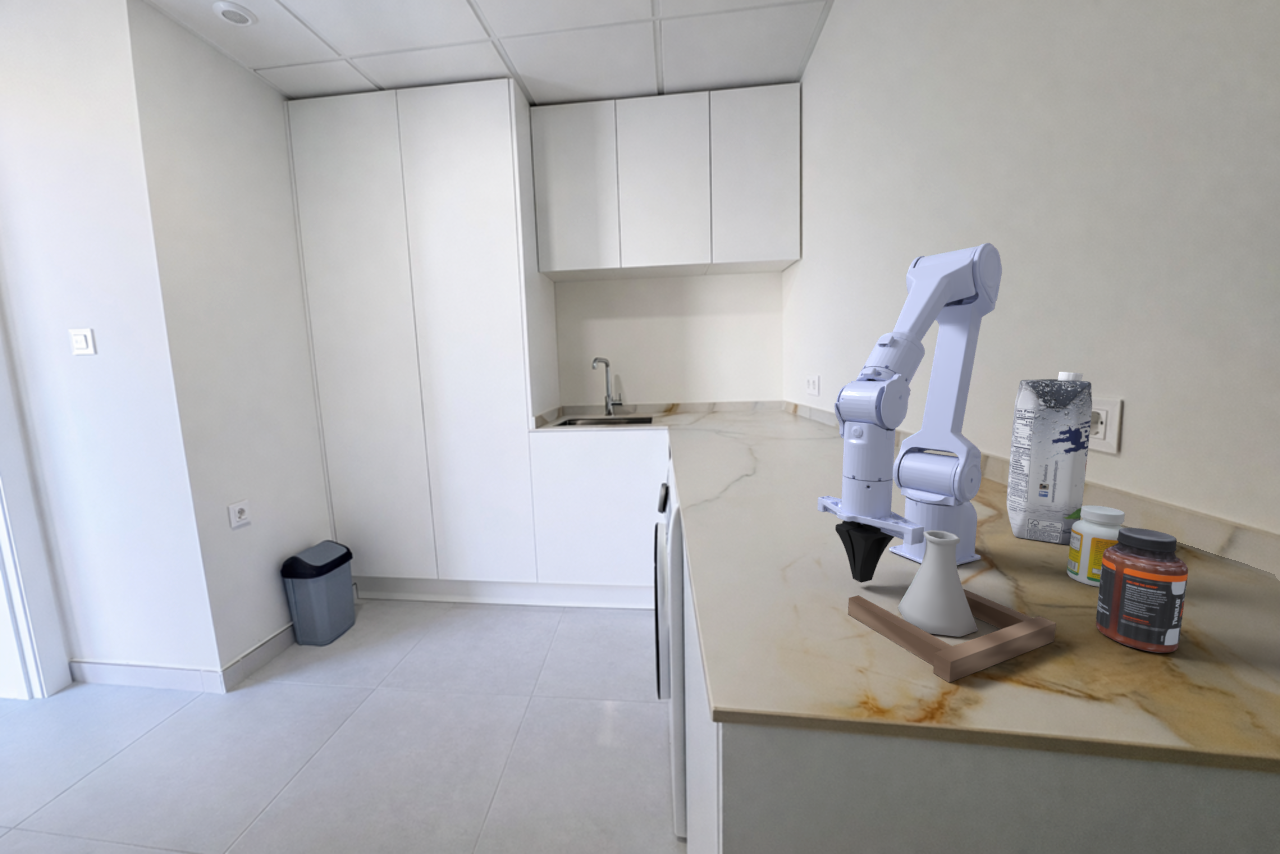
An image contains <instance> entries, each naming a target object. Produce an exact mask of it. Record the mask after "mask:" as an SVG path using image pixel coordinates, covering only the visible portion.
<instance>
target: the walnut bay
mask: <svg viewBox="0 0 1280 854" xmlns="http://www.w3.org/2000/svg"><path fill="white" fill-rule="evenodd" d="M963 590H964V593H965V596H966V599H967V602H968V605H969V607H970V610H971V613H972V615H973V618H974V617H975V618H976V619H978V620H980V621H983V622H985V623H987V624H990V625H991V626H993V627H995V628H997V629H998V630H995V631H993V632H990V633H986V634H984V635H981V636H979V637H975V638H973V639H970V640H967V641H965V642H961V643H959V644H956V645H951V644H950V643H947V642H946V641H944V640H941V639H940V638H938V637H936V636H934V634H933V635H932V634H931V633H928V632H926V631H924V630H922V629H920V628H918V627H917V626H915V625H913V624H911V623H909V622H907V621H906V620H904V618H902V617H900V616H897V615H896V614H894V613H892V612H890V611H888V610H887V609H885V608H882V606H880V605H878V604H875V603H874V602H872V601H870V600H868V599H867V598H864V597H862V596H860V595H855V596H851V597H848V602H847V603H848V606H847V607H848V609H847V615H849V616H851V617H852V618H854V619H855V620H857V621H859V622H860V623H862V624H863V625H865V626H866V627H869V629H872V630H874V631H875V632H877V633H879V634H880V635H882V636H883V637H885V638H887V639H889V640H890V641H892V642H893V643H895V644H897V645H899V647H901V648H903V649H905V650H906V651H908V652H909V653H911V654H913V655H915V656H916V657H918V658H920V659H922V660H923V661H925V662H927V663H928V664H929V665H932V666H933V670H932V671H933V672H932V673H933V674H934V675H936V676H938V677H940V678H941V679H942V680H944V681H946V682H948V683H952V682H954V681H957V680H960V679H962V678H964V677H966V676H970V675H972V674H975V673H976V672H977V673H978V672H981V671H982V670H985V669H988V668H991V667H992V666H994V665H995V666H996V665H997V664H1000V663H1002V662H1005V661H1007V660H1010V659H1013V658H1015V657H1018V656H1020V655H1022V654H1025V653H1028V652H1030V651H1033V650H1035V649H1038V648H1040V647H1041V648H1042V647H1043V646H1046V645H1048V644H1051V643H1054V642H1055V637H1056V630H1057V629H1056V627H1057V622H1055V621H1052V620H1050V619H1048V618H1046V617H1043V616H1040V615H1038V616H1035V617H1032V616H1030V615H1028V614H1025V613H1023V612H1020V611H1017V610H1015V609H1013V608H1010V607H1008V606H1005V605H1003V604H1001V603H999V602H996V601H994V600H991V599H989V598H986V597H984V596H982V595H979V594H977V593H975V592H972V591H970V590H967V589H965V588H963Z"/></svg>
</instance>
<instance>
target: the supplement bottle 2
mask: <svg viewBox="0 0 1280 854" xmlns="http://www.w3.org/2000/svg"><path fill="white" fill-rule="evenodd" d="M1117 541H1118V543H1117V544H1115V545H1114V546H1111V547H1109V548H1107V549H1106V550H1105V551H1104V553H1103V558H1102V567H1101V576H1100V585H1099V587H1098V595H1097V596H1098V598H1097V605H1096V614H1095V627H1096V628H1097V630H1098V631H1099V632H1100V633H1101V634H1102V635H1104V636H1106V637H1107V638H1109V639H1111V640H1113V641H1115V642H1116V643H1118V644H1121V645H1123V646H1126V647H1130V648H1133V649H1136V650H1140V651H1144V652H1151V653H1159V654H1166V653H1173V652H1175V651H1177V650H1178V648H1179V643H1180V641H1181V629H1182V623H1183V616H1184V615H1183V614H1184V606H1185V599H1186V591H1187V585H1188V577H1189V567H1188V566H1187V563H1185V562H1184V561H1183V560H1182V559H1181V558H1179V557H1177V555H1176V551H1177V542H1178V541H1177V538H1176V537H1175V536H1173V535H1172V534H1169V533H1166V532H1162V531H1158V530H1153V529H1147V528H1142V527H1139V528H1138V527H1123V528H1121V529H1119V533H1118V538H1117Z"/></svg>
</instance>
